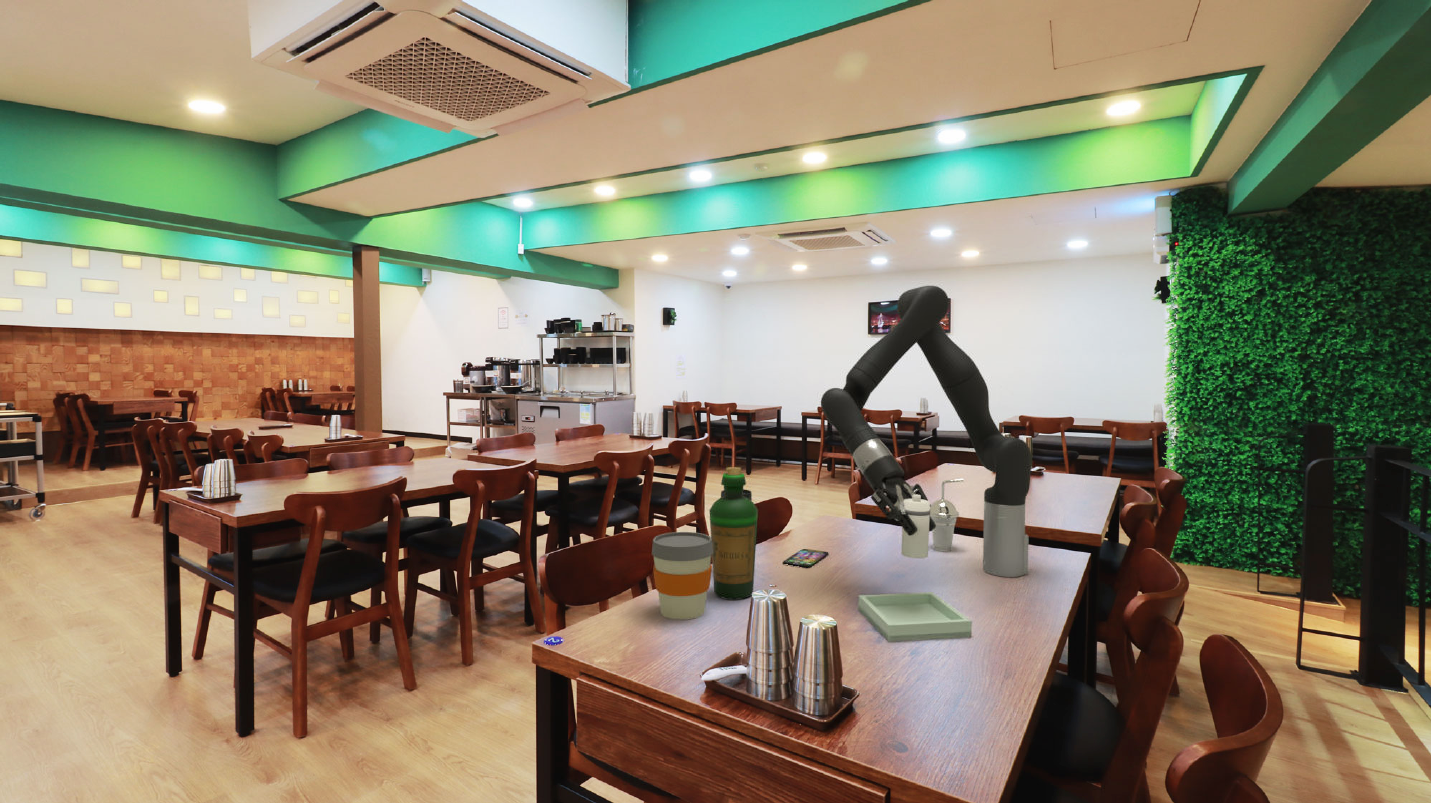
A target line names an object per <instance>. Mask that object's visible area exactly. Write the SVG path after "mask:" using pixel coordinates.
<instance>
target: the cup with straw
mask: <svg viewBox="0 0 1431 803" xmlns="http://www.w3.org/2000/svg"><path fill="white" fill-rule="evenodd" d="M959 482H964V478H959V479H958V478H957V479H948V480H947V479H946V480H944V481H942V482H941V499H938V500H935V501H934V502H932V504H931V507H930V517H931V518H932V519H933V521H934V522H935V524H936V527H935V528H934V529H933V530H932V531H931V533H932V543H933V550H935V551H938V552H943V551H947V552H951V551H952V546H953V541H954V540H953V539H954V532H955V525H956V522H957V518H958V517H960V512H959V511H957V508H956V507H955V504H954V503H953V502H951V501H950V500H948V499H945V484H948V483H959Z"/></svg>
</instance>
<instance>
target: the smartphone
mask: <svg viewBox="0 0 1431 803" xmlns="http://www.w3.org/2000/svg"><path fill="white" fill-rule="evenodd" d="M826 556H827V557H828V556H829V552H828V551H823V550H816V549H809V548H803V549H800V550H798V551H796V552H795V553H794V554H792V555H791V556H789V557H787V558H786V559H785V560H783V561H782V565H783V564H788V565H793V566H792V567H794V566H799V567H798V568H800V567H802V569H812V568H813V567H814V566H815V564H816V565H818V563H820V562H821V561H823V560H824V559H825V558H826ZM822 559H823V560H822ZM819 561H820V562H819ZM788 565H787V566H788ZM812 566H813V567H812Z"/></svg>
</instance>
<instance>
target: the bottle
mask: <svg viewBox="0 0 1431 803" xmlns="http://www.w3.org/2000/svg"><path fill="white" fill-rule="evenodd" d="M725 470H726V472H724V473H723V474H722V478H721V479H722V480H721V482H720V484H721V485H722V486H723V490H724V495H725V496H723V497H721V496H720V497H719V498H718V499H716V501H715V502H713V504H712V505H711V507H710V509H709V524H710V526H709V527H710V537H711V538H712V546H713V554H712V555H711V562H712V576H713V577H712V578H713V592H714V594H716V596H718V597H720V598H722V597H723V599H725V598H726V600H741V599H740V598H743V599H745V597H746V598H747V596H748V597H749V596H752V595H753V593H752V592H754V581H755V565H756V564H755V562H756V551H757V550H756V549H757V548H756V547H757V546H756V545H757V530H758V515H759V514H758V513H759V512H758V511H759V509H758V507H757V506H756V505H755V503H754V502H753V500H752V501H750V500H749V499H748V498H746V497H744V496H743V489H744V486H746V485H747V481H746V477H745V473H744V472H743V473H742V472H741V470H742V467H738V466H737V467H736V466H729V467H726V468H725ZM751 594H752V595H751Z"/></svg>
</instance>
